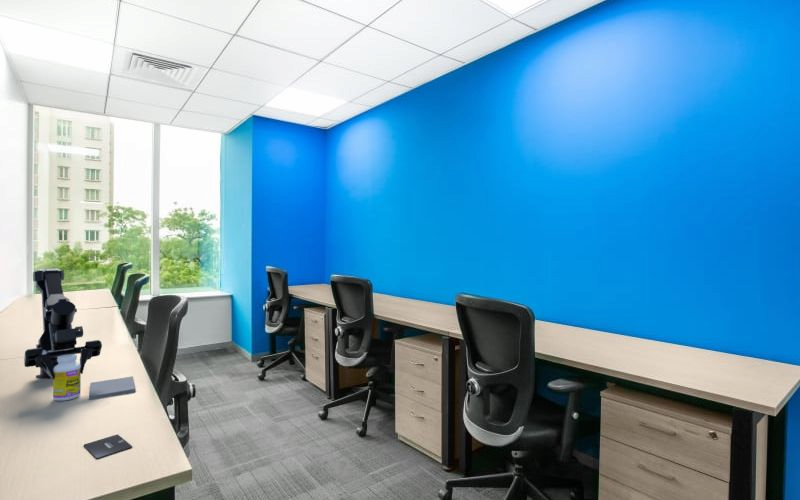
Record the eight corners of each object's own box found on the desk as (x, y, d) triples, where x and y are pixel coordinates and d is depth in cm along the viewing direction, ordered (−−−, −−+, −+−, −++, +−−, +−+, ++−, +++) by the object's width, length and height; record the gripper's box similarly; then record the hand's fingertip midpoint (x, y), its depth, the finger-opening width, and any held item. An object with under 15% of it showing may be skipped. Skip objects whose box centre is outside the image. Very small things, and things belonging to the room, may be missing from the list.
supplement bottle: (65, 402, 125) (64, 359, 125) (47, 400, 126) (46, 358, 126) (86, 394, 132) (85, 353, 132) (68, 393, 133) (68, 352, 133)
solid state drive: (117, 436, 103) (117, 434, 103) (132, 449, 96) (132, 446, 96) (83, 447, 97) (83, 444, 97) (96, 461, 91) (96, 458, 91)
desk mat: (90, 385, 140) (90, 382, 140) (132, 379, 147) (132, 376, 147) (88, 399, 127) (88, 396, 127) (135, 391, 134) (135, 388, 134)
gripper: (24, 322, 125) (29, 367, 117) (100, 315, 138) (108, 354, 131) (22, 345, 130) (26, 388, 123) (95, 335, 144) (103, 374, 136)
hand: (67, 375), depth 128 cm, fingers closed on supplement bottle, 7 cm apart
